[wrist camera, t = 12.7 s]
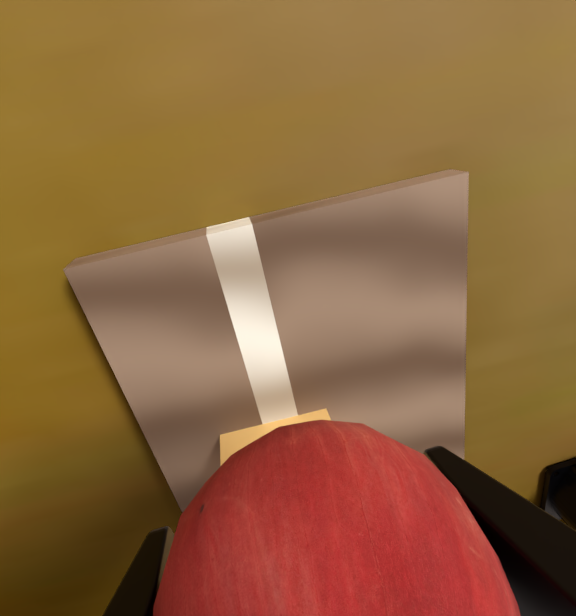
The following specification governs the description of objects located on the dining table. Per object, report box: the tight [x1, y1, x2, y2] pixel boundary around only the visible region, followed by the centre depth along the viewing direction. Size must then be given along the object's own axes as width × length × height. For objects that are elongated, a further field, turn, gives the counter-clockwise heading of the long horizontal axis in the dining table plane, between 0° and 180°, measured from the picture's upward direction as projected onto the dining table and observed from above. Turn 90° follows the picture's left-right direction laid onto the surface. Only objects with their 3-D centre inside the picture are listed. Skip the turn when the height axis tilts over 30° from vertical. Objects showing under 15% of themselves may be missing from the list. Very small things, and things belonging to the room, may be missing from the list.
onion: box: [153, 420, 521, 616], centre depth 6 cm, size 6×6×8 cm
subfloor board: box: [63, 169, 469, 513], centre depth 21 cm, size 20×18×2 cm
